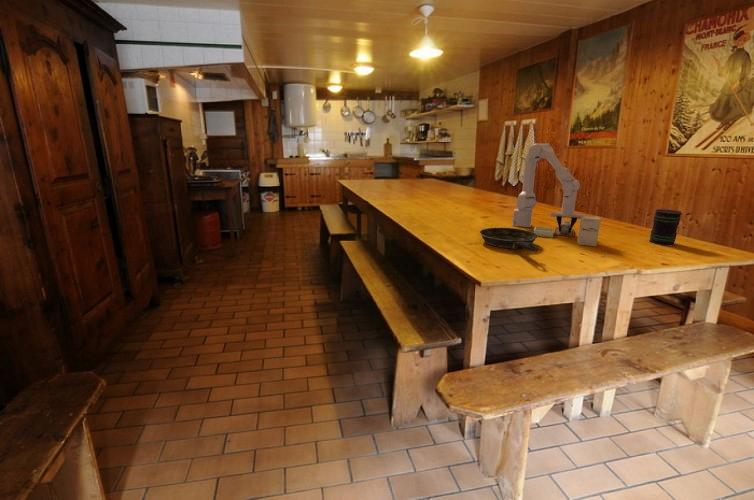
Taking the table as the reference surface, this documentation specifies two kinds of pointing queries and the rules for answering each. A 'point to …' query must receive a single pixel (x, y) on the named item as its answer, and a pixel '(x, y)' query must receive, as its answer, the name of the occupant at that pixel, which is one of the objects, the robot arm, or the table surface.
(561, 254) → the table surface
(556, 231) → the shallow brown tray
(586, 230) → the supplement box
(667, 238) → the storage jar
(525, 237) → the frying pan
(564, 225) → the stone front
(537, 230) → the bin
